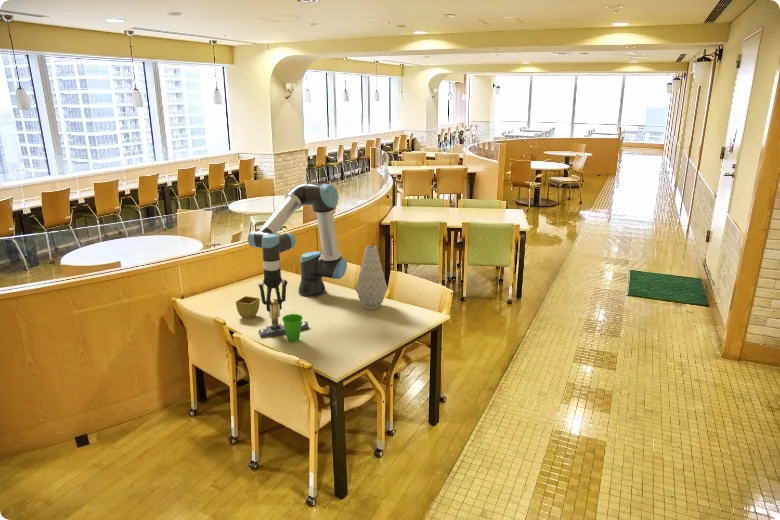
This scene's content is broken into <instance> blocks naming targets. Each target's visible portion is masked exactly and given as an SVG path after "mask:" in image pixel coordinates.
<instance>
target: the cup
mask: <svg viewBox="0 0 780 520" xmlns="http://www.w3.org/2000/svg"><path fill="white" fill-rule="evenodd" d="M281 320H282V321H283V325H284V326H285V331H286V333H285V335H286V339H287V342H288V343H297V342H299V340H300V337H301V336H300V335H301V330H300V329H301V322H303V321H302V320H303V316H302V315H301V314H298V313H289V314H286V315H284V316H283V317H282V318H281Z"/></svg>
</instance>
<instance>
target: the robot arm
mask: <svg viewBox="0 0 780 520" xmlns="http://www.w3.org/2000/svg"><path fill="white" fill-rule="evenodd" d="M338 203H339V192H338V190H337V188H336V187H335V185H334V184H328V183H319V182H318V183H317V182H308V181H307V182H303V183H300V184H298V185H297V186H294V187H293V188H292V189H290V190H289V192H288V193H287V194H286V195H285V196H284V200H283V202H281V204H279V206H278V207H277V208H276V209H275V210H274V212H273V213H272V214H271V215H270V216H269V218H268V219H267V220H266V221H265V222H264V223H263V224H262V226H260V228H259V229H258V230H252V231H250V232H249V233H248V236H247V242H248V244H249V246H250V247H253V248H257V249H258V248H259V249H261V250H262V265H263V267H262V268H263V280H262V282H259V283H257V286H258V288H259V290H260V291H259V292H260V300H261V302H262V304H263V305H265V307H266V311H267V313H268V317H269V318H270V319H271V318H272V305H271V304H270V299H272V298H271V296H272V290H273V289H275V294H276V299H278V301H279V302H278V303H277V307H278V318H281V310H282V304H283V302H286V299H287V298H286V297H287V296H286V294H287V293H286V292H287V285H288V280H287V279H283V278H282V274H281V271H282V269H281V257H280V255H281V253H284V252H286V251H289V250H291V249H293V248H294V247H295V246H296V244H297V243H296V237H295V236H294V235H293V233H290V232H287V233H286V232H285V233H283V234H282V233H281V234H280V233H279V231H280V230H281V229H282V228H283V227H284V225H285V224H286V223H287V222H288V220H289V219H290V218H291V217H292V216H293V215H294V213H295V212H296V211H297V210H300V209H301V208H302V207H303V206H312V211H313V212H314V213H315V214H316V217H317V218H316V220H317V225H318V232H319V233H318V234H319V238H320V245H321V251H322V252H321V251H320V250H319V251H314V250H313V251H309V252H305V253H303V254H301V255H300V258H299V263H300V264H299V265H300V279H301V280H300V283H299V285H298V294H299V295H300V296H303V297H309V298H310V297H318V296H321V295H324V294H326V286H325V283H324V280H323V278H329V279H332V280H339V279H342V278H343V277H344V276H345V274H346V271H347V269H348V261H347V259H346V258H344V257H343V255H342V253H341V252H340V251H339V247H338V238H337V232H336V224H335V217H334V211H335V210H336V207H337V206H338ZM280 285H281V293H280ZM265 286H266V287H267V288H266V295H265V289H264V287H265Z"/></svg>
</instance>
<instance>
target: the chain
mask: <svg viewBox="0 0 780 520" xmlns="http://www.w3.org/2000/svg"><path fill="white" fill-rule="evenodd" d="M265 327H266V328H262V329H258V331H257V332H258V335H259V337H260V338H267V337H270V338H272V337H276V336H277V337H278V336H282V335H286V331H285V326H284V324H283V325H282V323H280V324H279V323H278V325H277V326H273V325H272V324H271V325H268V326H267V325H266V326H265ZM303 330H309V322H308V321H301V329H300V331H303Z"/></svg>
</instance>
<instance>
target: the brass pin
mask: <svg viewBox="0 0 780 520" xmlns="http://www.w3.org/2000/svg"><path fill="white" fill-rule="evenodd" d="M278 302H279V301H278V299H277V298H270V304H271V305H272V318H270V319H271V326H272V325H273V326H277V325H278V324H279V317H278V307H277V303H278Z"/></svg>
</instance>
